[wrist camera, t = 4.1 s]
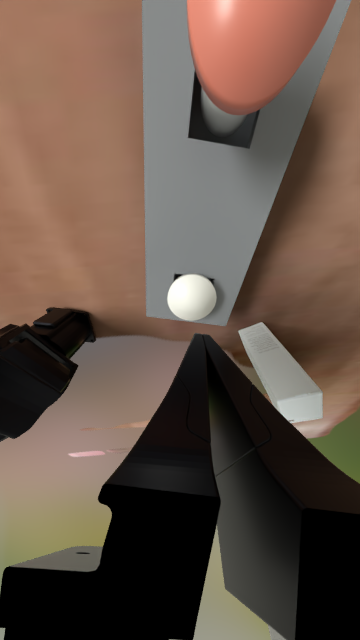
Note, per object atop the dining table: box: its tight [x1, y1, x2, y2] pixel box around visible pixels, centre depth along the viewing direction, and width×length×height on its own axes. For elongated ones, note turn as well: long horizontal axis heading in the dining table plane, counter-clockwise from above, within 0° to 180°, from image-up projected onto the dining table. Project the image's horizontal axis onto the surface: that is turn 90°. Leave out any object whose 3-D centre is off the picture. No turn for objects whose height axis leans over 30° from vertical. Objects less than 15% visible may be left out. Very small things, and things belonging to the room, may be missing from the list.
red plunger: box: [187, 0, 336, 137], centre depth 6 cm, size 5×5×5 cm
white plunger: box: [167, 273, 217, 321], centre depth 16 cm, size 5×5×5 cm
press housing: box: [142, 0, 351, 326], centre depth 14 cm, size 20×10×5 cm, turn 173°
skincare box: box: [238, 322, 323, 423], centre depth 19 cm, size 6×4×12 cm
